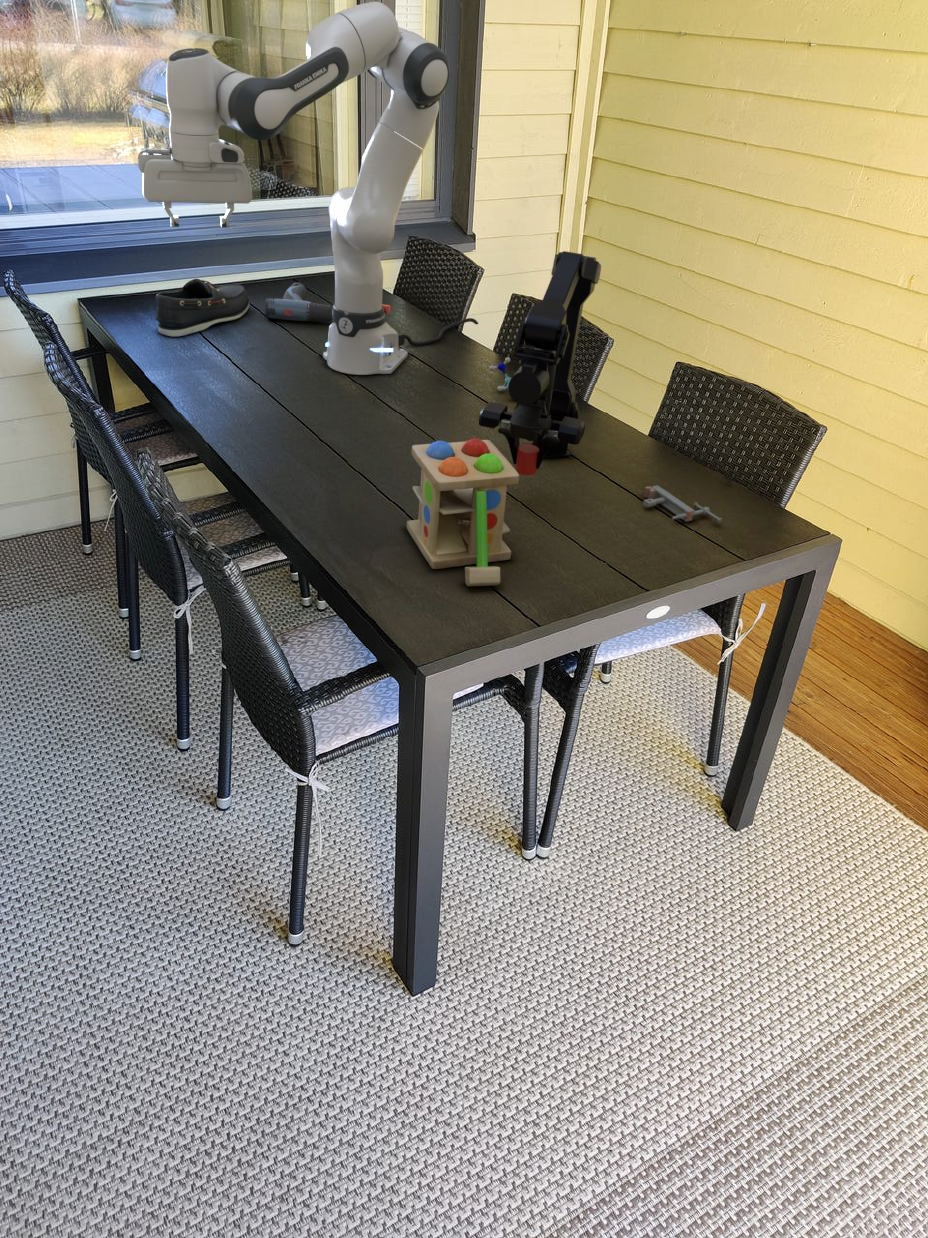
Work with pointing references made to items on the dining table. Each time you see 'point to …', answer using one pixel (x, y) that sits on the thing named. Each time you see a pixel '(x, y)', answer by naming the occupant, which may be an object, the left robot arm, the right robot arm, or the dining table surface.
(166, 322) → the boat shoe
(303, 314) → the power drill
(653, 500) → the clamp
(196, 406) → the dining table surface
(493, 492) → the pounding bench toy
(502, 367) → the molecular model
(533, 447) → the can
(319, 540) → the dining table surface
